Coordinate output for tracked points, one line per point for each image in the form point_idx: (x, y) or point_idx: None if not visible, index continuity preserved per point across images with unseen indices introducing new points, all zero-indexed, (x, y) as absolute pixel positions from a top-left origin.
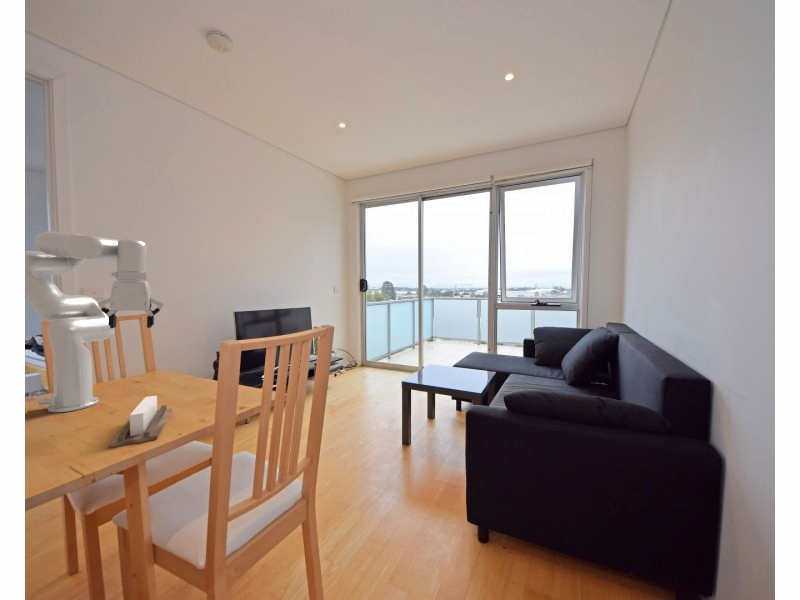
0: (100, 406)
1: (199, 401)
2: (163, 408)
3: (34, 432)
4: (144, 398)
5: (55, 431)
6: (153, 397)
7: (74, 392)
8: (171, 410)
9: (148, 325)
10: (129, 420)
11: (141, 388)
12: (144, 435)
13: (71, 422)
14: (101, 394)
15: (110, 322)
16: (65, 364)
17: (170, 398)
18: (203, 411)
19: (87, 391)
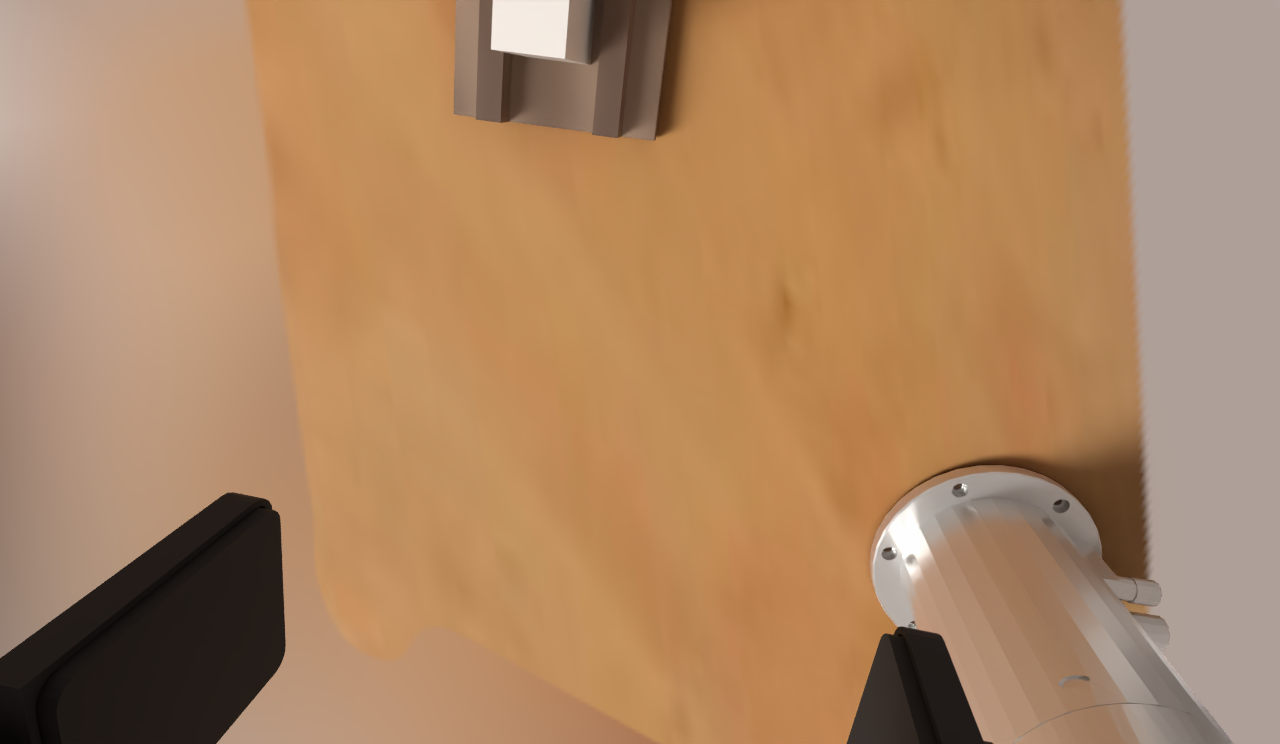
0: (853, 471)
1: (332, 243)
2: (483, 43)
3: (1130, 178)
4: (565, 11)
5: (1034, 127)
6: (506, 2)
7: (1009, 549)
8: (456, 86)
9: (217, 518)
10: (669, 4)
11: (681, 691)
12: None
13: (969, 252)
14: None
15: (972, 739)
16: (1171, 716)
17: (506, 406)
18: (278, 6)
19: (940, 571)
